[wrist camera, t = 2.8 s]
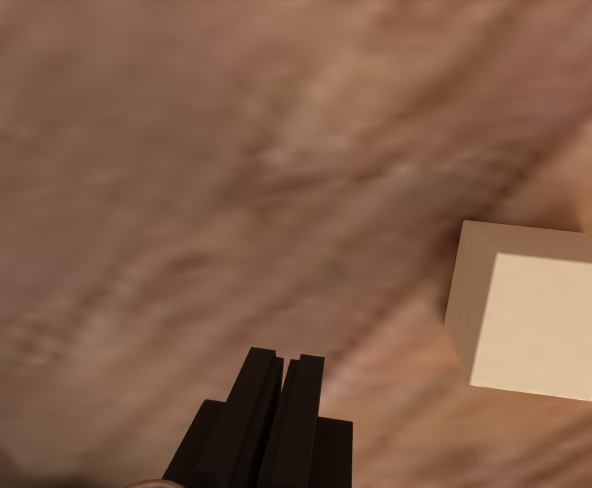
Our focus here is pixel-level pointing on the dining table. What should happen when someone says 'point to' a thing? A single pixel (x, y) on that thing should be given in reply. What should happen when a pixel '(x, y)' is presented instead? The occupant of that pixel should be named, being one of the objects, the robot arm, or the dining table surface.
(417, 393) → the dining table surface
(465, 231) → the cream block
